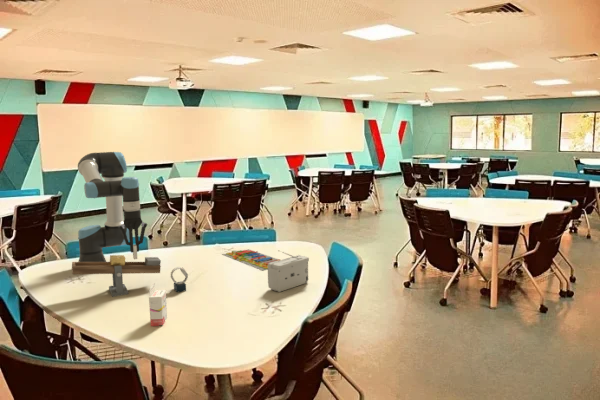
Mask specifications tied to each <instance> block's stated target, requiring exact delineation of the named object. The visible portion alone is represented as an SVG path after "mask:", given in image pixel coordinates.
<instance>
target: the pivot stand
mask: <svg viewBox="0 0 600 400" xmlns="http://www.w3.org/2000/svg"><path fill="white" fill-rule="evenodd" d="M114 269H115V274H111V275H112V285H110V286H108V291H109V293H110V295H111V297H112V298H113V297H118V296H125V295H128V294H129V290H128V288H127V286H126V285H125V283H124V282H123V274H122V266H121V265H119V266H114Z"/></svg>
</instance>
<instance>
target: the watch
mask: <svg viewBox="0 0 600 400" xmlns="http://www.w3.org/2000/svg"><path fill="white" fill-rule="evenodd" d="M177 270H179V271H180V272H181V273H182V274H183V276H184V279H183V280H181V281H176V280H175V278H174V276H173V273H175V272H176V271H177ZM188 278H189V274H188V272H187V270H186V269H185V268H184V267H181V266H176V267H174V268H173V269H172V270H171V272H170V279H171V280H172V281H173V289H174V291H175V292H176V293H180V292H186V291H187V284H186V281H187V280H188Z"/></svg>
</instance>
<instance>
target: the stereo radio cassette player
mask: <svg viewBox="0 0 600 400" xmlns="http://www.w3.org/2000/svg"><path fill="white" fill-rule="evenodd" d="M277 251H278V252H281V253H282V254H285V255H287V256H290V257H287V258H283V259H280V260H279V261H275V262H271V263H269V264H268V270H267V283H268V288H269V289H271V290H272V291H275V292H278V293H281V292H283V291H286V290H290V289H292V288H295V287H297V286H302V285H304V284H307V283H309V262H310V261H309V259H310V258H309V256H305V255H301V254H298V255H292V254H290V253H286V252H285V251H281V250H277Z"/></svg>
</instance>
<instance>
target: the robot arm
mask: <svg viewBox="0 0 600 400" xmlns="http://www.w3.org/2000/svg"><path fill="white" fill-rule="evenodd" d="M77 170H78V173H79V174H80V175H81V176H82V177H83V179H84V182H85V183H84V185H83V187H84V196H85V198H87V199H97V198H98V199H99V198H105V204H106V221H105V222H104V226H102V227H101V225H100V224H93V225H92V224H91V225H87V226H85V227H82V228H80V229H79V230H78V232H77V234H78V235H77V240H78V247H79V258H78V261H77V262H107V259H106V257H105V254H104V253H103V248H111V247H112V248H113V247H119V246H124V245H127V246H129V248H130V253H132V256H133V257H132V258H133V260H138V252H140V245H141V244H143V242H144V236H145V233H146V228H147V226H148V224H147V223H146V222H144V221H143V220H142V215H141V214H142V213H141V210H140V209H141V203H140V202H141V200H140V187H139V186H140V183H139V178H138V177H137V176H125V173H127V172H128V168H127V161H126V157H125V156H124V154H123V152H119V151H108V152H107V151H106V152H105V151H103V152H91V153H87V154H86V155H84V156H83V157H82V158H80V160H79V161H78V164H77ZM103 179H104V180H103ZM140 226H141V230H140V235H139V228H140ZM133 230H134V237H133ZM133 238H134V239H133ZM134 241H135V244H134Z"/></svg>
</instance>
